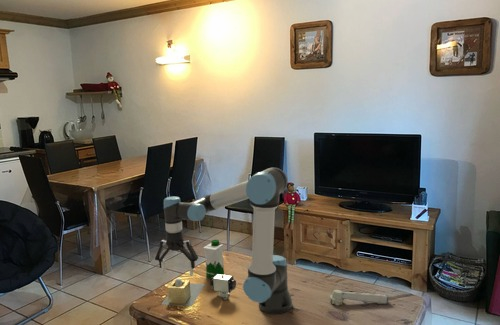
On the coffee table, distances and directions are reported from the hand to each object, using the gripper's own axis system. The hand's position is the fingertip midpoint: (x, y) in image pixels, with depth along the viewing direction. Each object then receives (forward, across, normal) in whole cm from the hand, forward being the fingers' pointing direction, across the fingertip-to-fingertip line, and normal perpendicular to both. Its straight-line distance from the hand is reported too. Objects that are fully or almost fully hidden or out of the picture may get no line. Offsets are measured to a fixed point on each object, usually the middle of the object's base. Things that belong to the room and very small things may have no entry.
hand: (177, 274), depth 187 cm
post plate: (+14, 0, -6) cm, 15 cm away
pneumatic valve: (+14, -20, -6) cm, 25 cm away
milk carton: (+14, -10, -27) cm, 32 cm away
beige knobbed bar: (+15, -82, -6) cm, 84 cm away
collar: (+13, 0, 0) cm, 13 cm away
